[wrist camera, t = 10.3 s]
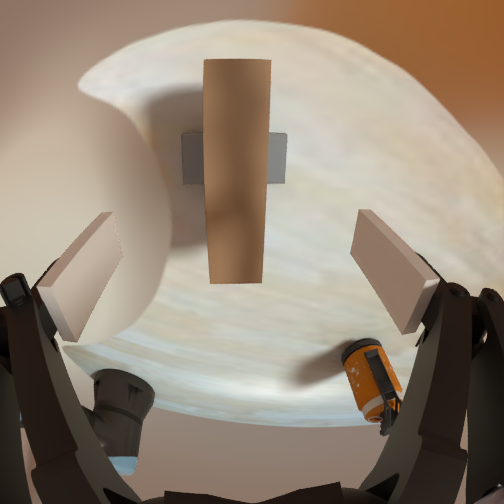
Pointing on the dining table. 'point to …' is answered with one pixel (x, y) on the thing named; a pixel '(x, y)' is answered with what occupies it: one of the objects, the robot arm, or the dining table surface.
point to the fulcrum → (195, 158)
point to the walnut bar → (236, 166)
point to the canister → (373, 383)
